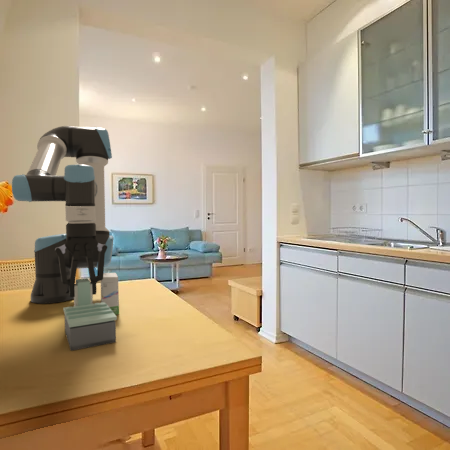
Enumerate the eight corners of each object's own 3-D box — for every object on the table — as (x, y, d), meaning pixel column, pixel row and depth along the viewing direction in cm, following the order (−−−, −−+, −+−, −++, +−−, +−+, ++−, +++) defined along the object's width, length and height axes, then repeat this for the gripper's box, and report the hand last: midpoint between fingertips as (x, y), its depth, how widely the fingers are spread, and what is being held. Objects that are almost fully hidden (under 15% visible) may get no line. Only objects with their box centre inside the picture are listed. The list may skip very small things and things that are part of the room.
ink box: (119, 314, 106) (118, 276, 106) (102, 316, 104) (101, 277, 104) (116, 307, 114) (116, 271, 114) (100, 309, 112) (99, 273, 112)
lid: (69, 331, 78) (68, 296, 78) (62, 309, 95) (61, 281, 95) (116, 323, 83) (116, 290, 83) (101, 304, 101) (100, 277, 100)
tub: (70, 350, 79) (70, 328, 79) (65, 332, 91) (64, 313, 91) (115, 342, 84) (115, 321, 84) (104, 325, 96) (104, 307, 96)
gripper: (48, 223, 88) (51, 315, 89) (114, 221, 95) (116, 306, 97) (47, 222, 94) (50, 308, 95) (108, 221, 102) (110, 300, 103)
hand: (83, 307), depth 96 cm, fingers closed on lid, 3 cm apart
